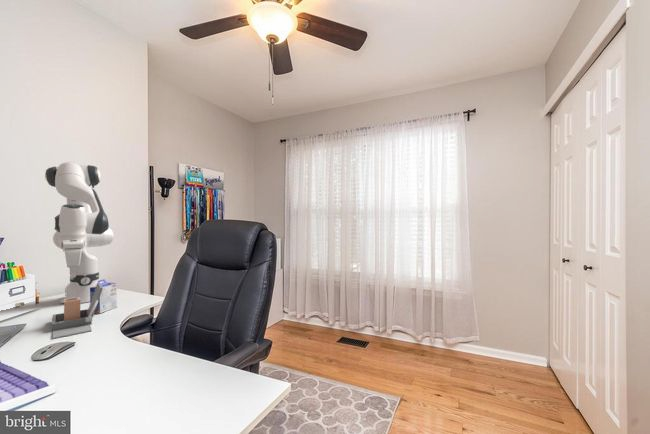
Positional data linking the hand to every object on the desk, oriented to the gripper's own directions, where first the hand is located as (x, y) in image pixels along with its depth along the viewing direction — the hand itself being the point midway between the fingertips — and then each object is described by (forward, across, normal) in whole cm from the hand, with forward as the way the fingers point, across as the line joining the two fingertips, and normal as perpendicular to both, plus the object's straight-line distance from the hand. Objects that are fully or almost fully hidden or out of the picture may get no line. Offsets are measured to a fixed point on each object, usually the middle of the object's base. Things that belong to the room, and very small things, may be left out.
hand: (72, 275), depth 118 cm
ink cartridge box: (+20, -12, +11) cm, 26 cm away
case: (+20, 0, +2) cm, 20 cm away
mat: (+20, +12, 0) cm, 23 cm away
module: (+20, 0, 0) cm, 20 cm away
